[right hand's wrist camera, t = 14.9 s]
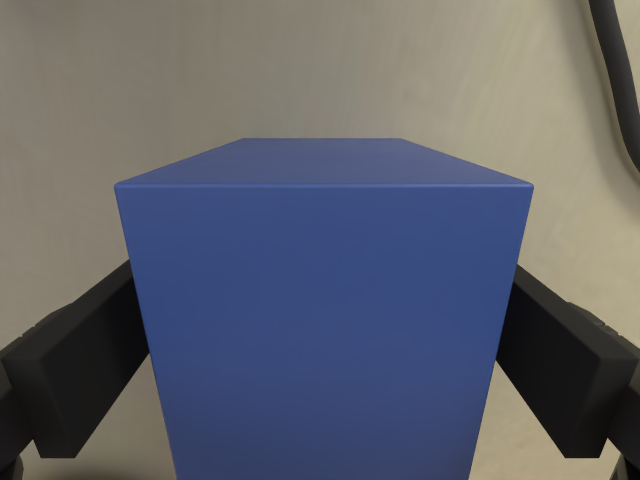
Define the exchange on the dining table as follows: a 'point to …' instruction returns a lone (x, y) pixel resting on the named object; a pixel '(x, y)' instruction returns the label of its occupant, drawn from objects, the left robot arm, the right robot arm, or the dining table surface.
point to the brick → (323, 305)
